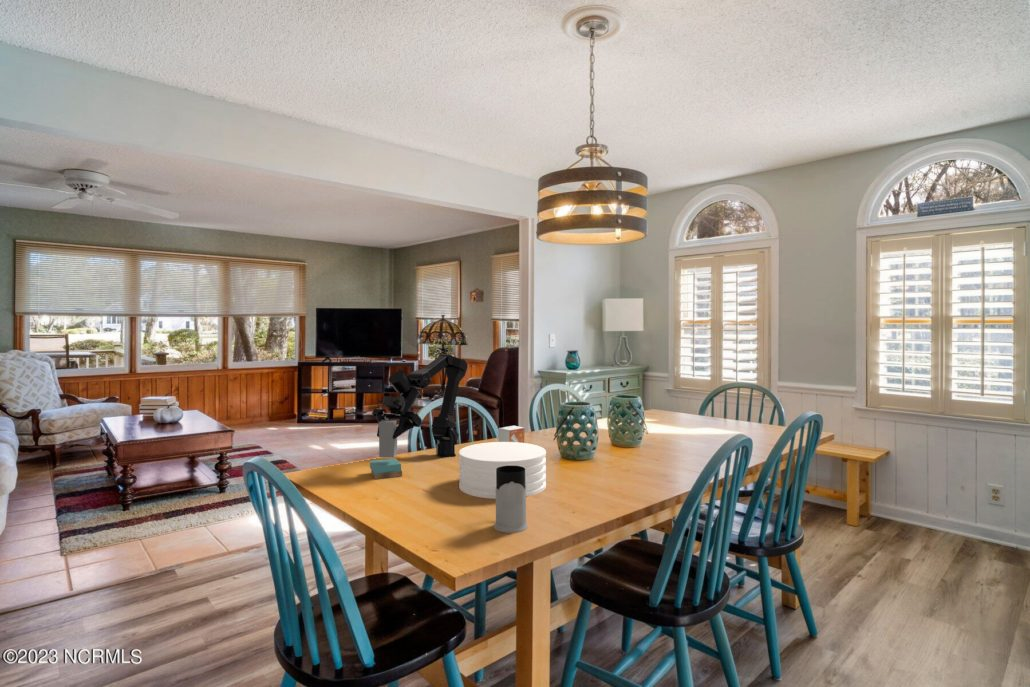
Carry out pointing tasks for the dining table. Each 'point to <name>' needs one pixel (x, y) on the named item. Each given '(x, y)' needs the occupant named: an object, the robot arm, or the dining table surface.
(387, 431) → the grey pillar block
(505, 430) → the small box
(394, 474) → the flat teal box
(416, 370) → the robot arm
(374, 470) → the teal slab
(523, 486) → the glass holder
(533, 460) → the plate stack
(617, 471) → the dining table surface
